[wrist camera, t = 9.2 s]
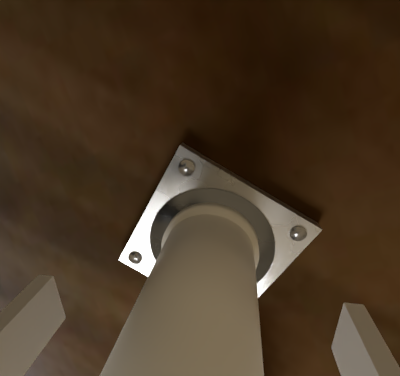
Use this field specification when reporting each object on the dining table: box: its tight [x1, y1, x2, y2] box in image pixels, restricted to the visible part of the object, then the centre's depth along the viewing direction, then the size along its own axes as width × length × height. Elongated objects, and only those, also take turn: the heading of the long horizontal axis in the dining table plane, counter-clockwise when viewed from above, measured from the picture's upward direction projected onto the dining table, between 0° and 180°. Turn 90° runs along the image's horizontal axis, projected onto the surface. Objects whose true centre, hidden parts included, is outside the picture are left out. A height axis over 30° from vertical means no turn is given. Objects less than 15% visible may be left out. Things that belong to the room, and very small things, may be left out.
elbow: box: [100, 202, 264, 376], centre depth 13 cm, size 9×6×10 cm, turn 1°
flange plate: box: [119, 143, 322, 298], centre depth 17 cm, size 10×10×1 cm
